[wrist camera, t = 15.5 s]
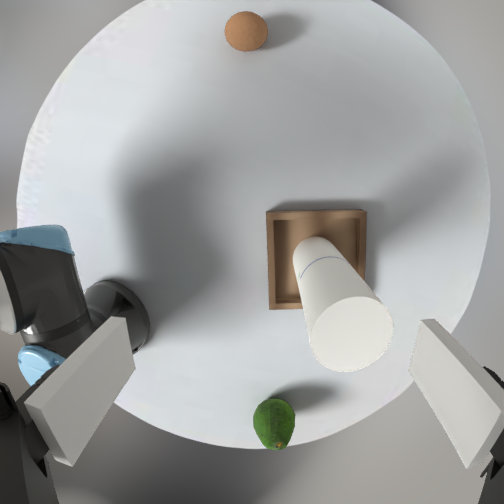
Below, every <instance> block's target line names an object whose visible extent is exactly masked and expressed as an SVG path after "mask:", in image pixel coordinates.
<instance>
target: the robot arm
mask: <svg viewBox="0 0 504 504" xmlns="http://www.w3.org/2000/svg"><path fill="white" fill-rule="evenodd" d="M74 256H75V254H74V252H73V251H72V248H71V244H70V240H69V236H68V233H67V231H66V229H65V228H64V227H62V226H60V225H41V226H32V227H25V228H19V229H13V230H7V231H2V232H0V329H1V330H3V331H5V332H7V333H10V334H15V333H16V332H19V331H20V333H21V336H22V338H23V341H24V343H25V346H23V347H22V348H21V350H20V352H19V355H18V358H19V359H18V363H19V367H20V370H21V372H22V374H23V375H24V377H25V379H26V380H27V382H28V383H29V384H30V385H31V387H30V388H29V389H28V390H27V391H26V392H25V393H24V394H23V395H22V396H21V397H20V398H19V399H18V400H17V401H16V402H15V400H14V398H13V396H12V394H11V392H10V390H9V388H8V386H7V385H6V384H4V383H1V382H0V504H59V502H58V499H57V495H56V491H55V488H54V484H53V480H52V476H51V471H50V467H49V462H48V460H47V458H46V456H45V455H46V453H47V452H48V450H50V452H51V453H52V455H53V457H54V458H55V460H57V461H59V462H62V463H64V464H66V465H69V466H73V465H74V463H75V462H76V460H77V458H78V457H79V455H80V454H81V452H82V451H83V449H84V447H85V446H86V444H87V442H88V441H89V439H90V438H91V436H92V435H93V433H94V432H95V430H96V428H97V427H98V425H99V424H100V422H101V421H102V419H103V417H104V416H105V414H106V413H107V411H108V410H109V408H110V407H111V405H112V404H113V402H114V400H115V399H116V397H117V396H118V394H119V393H120V391H121V390H122V388H123V387H124V385H125V384H126V382H127V381H128V379H129V378H130V376H131V375H132V373H133V372H134V370H135V369H136V368H135V364H134V359H133V354H135V353H136V352H138V351H139V350H140V348H141V347H142V346H143V345H144V343H145V342H146V340H147V338H148V335H149V319H148V315H147V312H146V310H145V308H144V306H143V304H142V303H141V301H140V300H139V299H138V297H137V296H136V295H135V294H134V293H133V292H132V291H130V290H129V289H128V288H126V287H125V286H123V285H121V284H119V283H116V282H112V281H101V282H98V283H95V284H94V285H92V286H90V287H89V288H88V289H86V290H85V291H84V292H83V290H82V286H81V283H80V279H79V275H78V271H77V267H76V263H75V259H74ZM408 371H409V373H410V374H411V376H412V377H413V379H414V381H415V382H416V384H417V385H418V387H419V388H420V390H421V391H422V393H423V395H424V397H425V398H426V400H427V401H428V403H429V405H430V406H431V408H432V410H433V411H434V413H435V415H436V416H437V418H438V420H439V421H440V423H441V425H442V426H443V428H444V430H445V432H446V433H447V435H448V437H449V439H450V440H451V442H452V444H453V446H454V447H455V449H456V451H457V453H458V455H459V456H460V458H461V460H462V462H463V464H464V465H465V467H466V469H468V468H471V467H473V466H475V465H478V464H480V463H482V462H483V461H484V459H485V458H486V456H487V455H488V454H489V452H491V454H492V455H493V458H492V460H491V461H490V463H489V464H488V465H487V467H486V468H485V470H484V471H483V472H482V474H481V476H480V477H483V476H484V475H485V473H486V472H487V476H486V479H485V483H484V486H483V490H482V493H481V497H480V500H479V503H478V504H504V382H503V381H501V379H500V378H499V377H498V375H497V374H496V373H495V372H493V371H492V370H490V369H488V368H486V367H482V366H481V365H480V364H479V363H478V362H477V361H476V360H475V359H474V358H473V357H472V356H471V355H470V353H468V351H467V350H466V349H465V348H464V347H463V346H461V345H460V344H459V342H458V341H457V340H456V339H455V338H454V337H453V336H451V334H450V333H449V332H447V331H446V330H445V329H444V328H443V327H442V326H441V325H440V324H439V323H438V322H437V321H436V320H435V319H425V320H420V325H419V330H418V334H417V338H416V343H415V347H414V351H413V355H412V358H411V362H410V366H409V369H408Z"/></svg>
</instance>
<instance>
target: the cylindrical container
mask: <svg viewBox="0 0 504 504" xmlns="http://www.w3.org/2000/svg"><path fill="white" fill-rule="evenodd" d="M293 265H294V270H295V274H296V278H297V283H298V287H299V292H300V297H301V301H302V306H303V311H304V316H305V320H306V325H307V330H308V335H309V340H310V345H311V349H312V352H313V355H314V356H315V358H316V359H317V361H318V362H320V363H321V364H322V365H323V366H325V367H326V368H328V369H331V370H334V371H339V372H351V371H356V370H360V369H362V368H365V367H367V366H369V365H370V364H372V363H374V362H375V361H376V360H377V359H379V358H380V357H381V356H382V354H383V353H384V352H385V351H386V349H387V348H388V346H389V344H390V341H391V339H392V334H393V321H392V317H391V315H390V313H389V311H388V310H387V308H386V307H385V306H384V305H383V303H382V302H381V301H380V300H379V298H378V297H377V296H376V295H375V294H374V292H373V291H372V290H371V289H370V287H369V286H368V285H367V284H366V283H365V281H364V280H363V279H362V278H361V277H360V275H359V274H358V273H357V272H356V271H355V270H354V268H353V267H352V266H351V265H350V264H349V263H348V261H347V260H346V259H345V258H344V257H343V256H342V254H341V253H340V252H339V251H338V250H337V249H336V248H335V246H334V245H333V244H332V243H331V242H330V241H328V240H327V239H325V238H322V237H309V238H307V239H305V240H303V241H302V242H300V243H299V244H298V246H297V247H296V249H295V251H294V254H293Z"/></svg>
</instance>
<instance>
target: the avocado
mask: <svg viewBox="0 0 504 504" xmlns="http://www.w3.org/2000/svg"><path fill="white" fill-rule="evenodd" d="M253 424H254V429H255V431H256V433H257V435H258V437H259V439H260V440H261V442H262V444H263V445H264V446H265V447H266V448H269V449H271V450H281V449H283V448H285V447H286V446H287V445H288V443H289V441H290V439H291V436H292V433H293V430H294V427H295V413H294V411H293V409H292V407H291V406H290V405H289V404H288V403H287V402H285V401H284V400H281V399H268V400H265V401H263V402H262V403H261V404H259V405H258V407H257V409H256V411H255V413H254V416H253Z"/></svg>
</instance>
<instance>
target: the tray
mask: <svg viewBox="0 0 504 504" xmlns="http://www.w3.org/2000/svg"><path fill="white" fill-rule="evenodd" d="M366 217H367V212H366V211H364V210H361V209H356V210H294V211H266V225H267V252H268V281H269V310H277V309H303V306H302V301H301V297H300V292H299V287H298V283H297V278H296V274H295V270H294V265H293V254H294V251H295V249H296V247H297V246H298V244H299V243H300V242H302V241H303V240H305V239H307V238H309V237H322V238H325V239H327V240H328V241H330V242H331V243H332V244H333V245H334V246H335V248H336V249H337V250H338V251H339V252H340V253H341V254H342V256H343V257H344V258H345V259H346V260H347V261H348V263H349V264H350V265H351V266H352V267H353V268H354V270H355V271H356V272H357V273H358V274H359V275H360V277H361V278H362V279H363V280H364V276H365V256H366Z"/></svg>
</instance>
